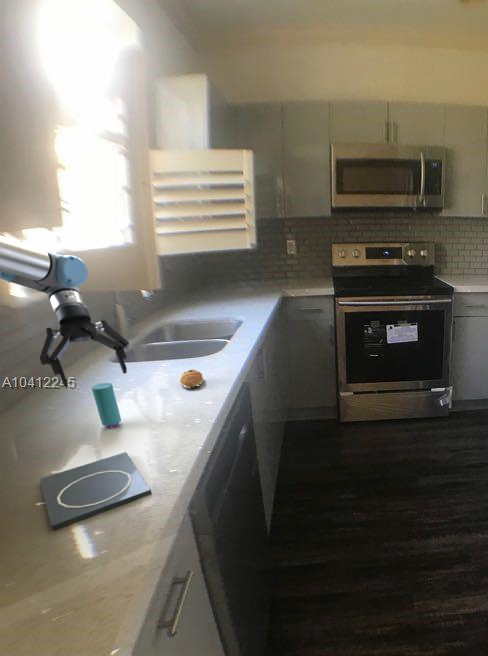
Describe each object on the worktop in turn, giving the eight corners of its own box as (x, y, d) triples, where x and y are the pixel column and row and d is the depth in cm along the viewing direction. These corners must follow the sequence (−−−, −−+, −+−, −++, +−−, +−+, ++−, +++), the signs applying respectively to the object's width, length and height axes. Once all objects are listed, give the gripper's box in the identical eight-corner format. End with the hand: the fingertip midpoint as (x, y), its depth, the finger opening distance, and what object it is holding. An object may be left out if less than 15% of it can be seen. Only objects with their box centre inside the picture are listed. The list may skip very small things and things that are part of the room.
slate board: (41, 482, 93) (39, 478, 93) (127, 455, 103) (125, 451, 102) (53, 530, 79) (51, 525, 78) (151, 493, 88) (150, 489, 88)
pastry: (205, 387, 141) (203, 376, 140) (182, 391, 139) (179, 380, 137) (202, 378, 149) (200, 367, 148) (180, 382, 147) (177, 371, 145)
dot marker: (101, 425, 118) (90, 385, 114) (120, 420, 121) (109, 381, 117) (104, 431, 115) (93, 390, 111) (124, 425, 117) (113, 385, 113)
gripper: (11, 310, 114) (35, 382, 108) (121, 296, 128) (148, 358, 123) (16, 328, 119) (40, 396, 114) (121, 312, 134) (147, 372, 129)
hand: (96, 377), depth 118 cm, fingers open, 13 cm apart
